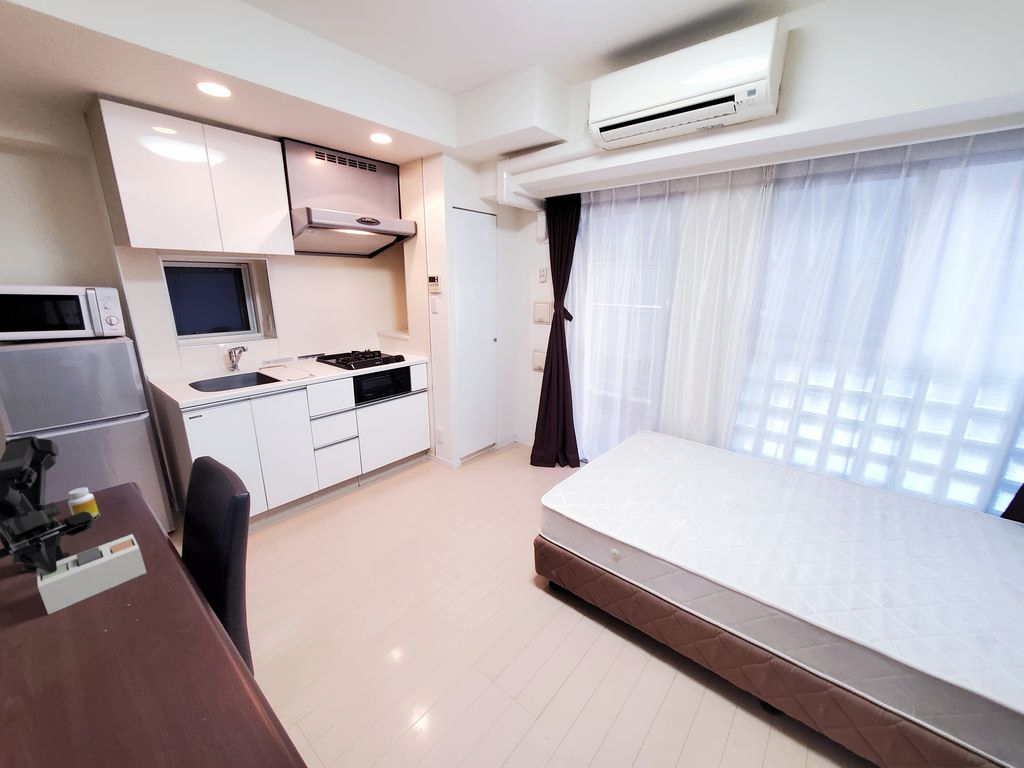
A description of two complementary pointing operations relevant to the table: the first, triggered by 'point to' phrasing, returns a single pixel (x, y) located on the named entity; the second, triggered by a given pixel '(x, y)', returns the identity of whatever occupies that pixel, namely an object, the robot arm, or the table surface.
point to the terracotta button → (122, 546)
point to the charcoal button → (88, 556)
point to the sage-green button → (59, 570)
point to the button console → (90, 575)
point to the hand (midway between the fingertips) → (54, 571)
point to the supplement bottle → (82, 502)
